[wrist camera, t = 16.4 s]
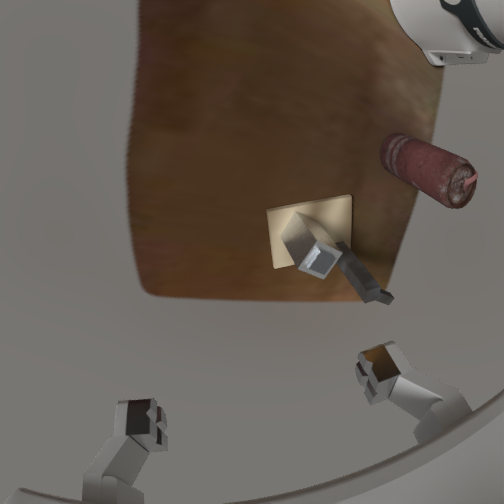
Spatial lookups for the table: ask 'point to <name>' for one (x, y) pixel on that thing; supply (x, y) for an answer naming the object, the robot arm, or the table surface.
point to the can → (430, 169)
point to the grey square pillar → (310, 246)
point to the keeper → (338, 228)
